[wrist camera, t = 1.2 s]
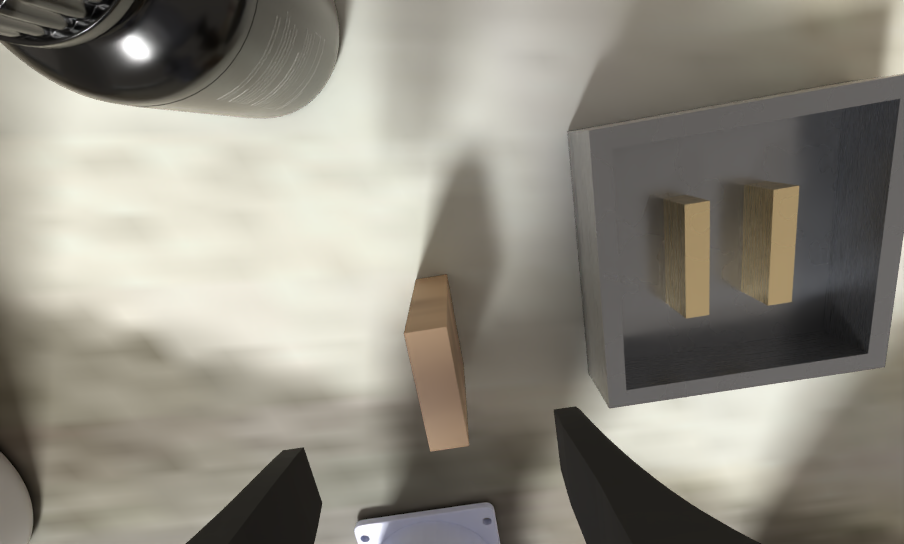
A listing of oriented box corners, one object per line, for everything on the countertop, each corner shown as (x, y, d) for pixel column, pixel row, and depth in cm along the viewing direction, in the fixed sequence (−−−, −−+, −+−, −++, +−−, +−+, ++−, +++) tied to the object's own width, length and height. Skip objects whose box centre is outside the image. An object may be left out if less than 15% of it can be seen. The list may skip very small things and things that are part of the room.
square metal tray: (827, 336, 22) (885, 366, 19) (588, 373, 22) (609, 408, 20) (851, 80, 18) (926, 70, 15) (567, 131, 19) (588, 130, 16)
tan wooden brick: (463, 366, 22) (469, 445, 17) (434, 370, 22) (430, 451, 17) (446, 274, 21) (446, 326, 15) (416, 279, 21) (403, 333, 15)
